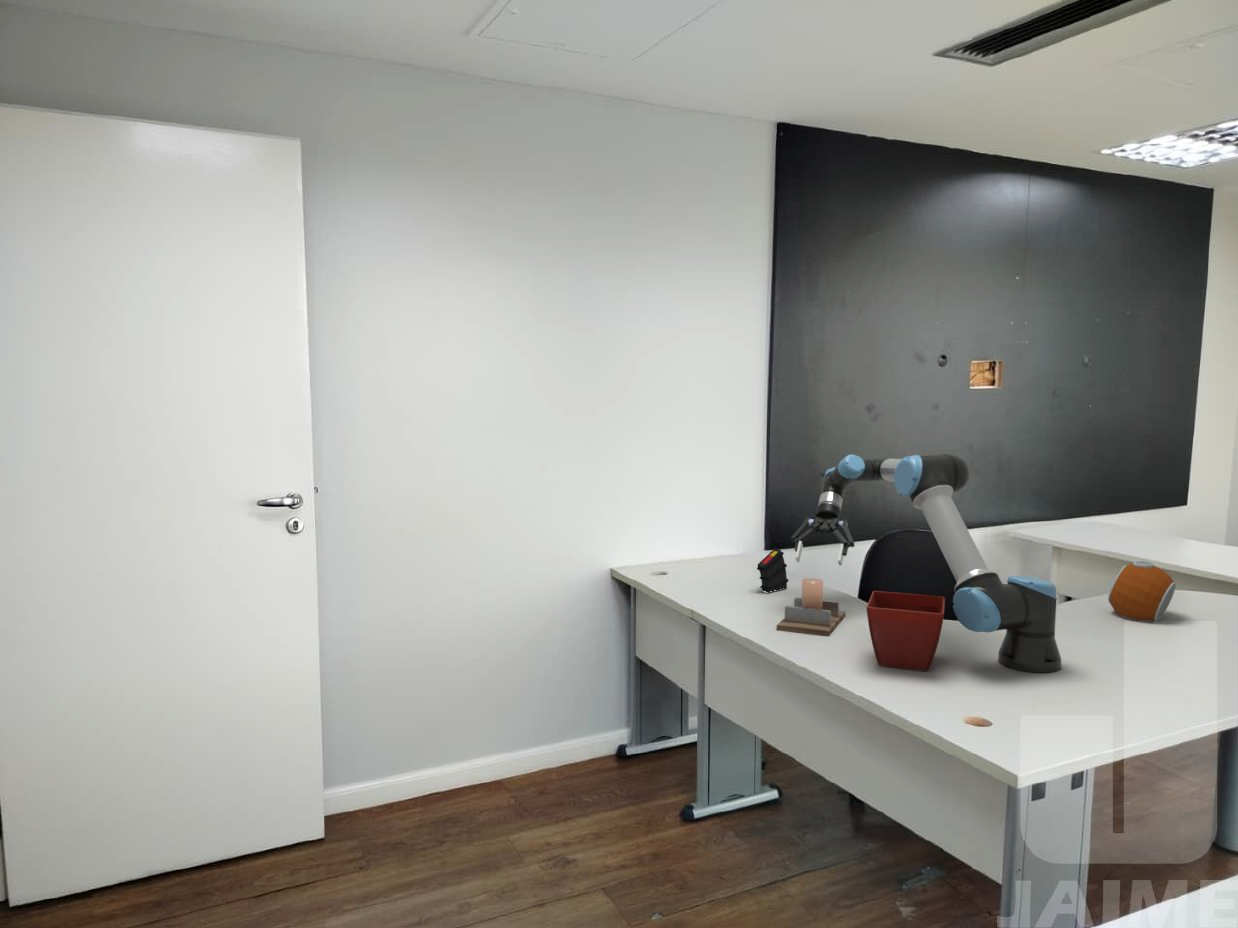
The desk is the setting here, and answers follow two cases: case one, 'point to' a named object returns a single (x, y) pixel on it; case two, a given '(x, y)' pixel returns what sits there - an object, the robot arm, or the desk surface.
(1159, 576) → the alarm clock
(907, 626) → the plant pot
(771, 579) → the magazine
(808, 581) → the peach pillar candle
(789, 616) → the rack
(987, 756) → the desk surface
